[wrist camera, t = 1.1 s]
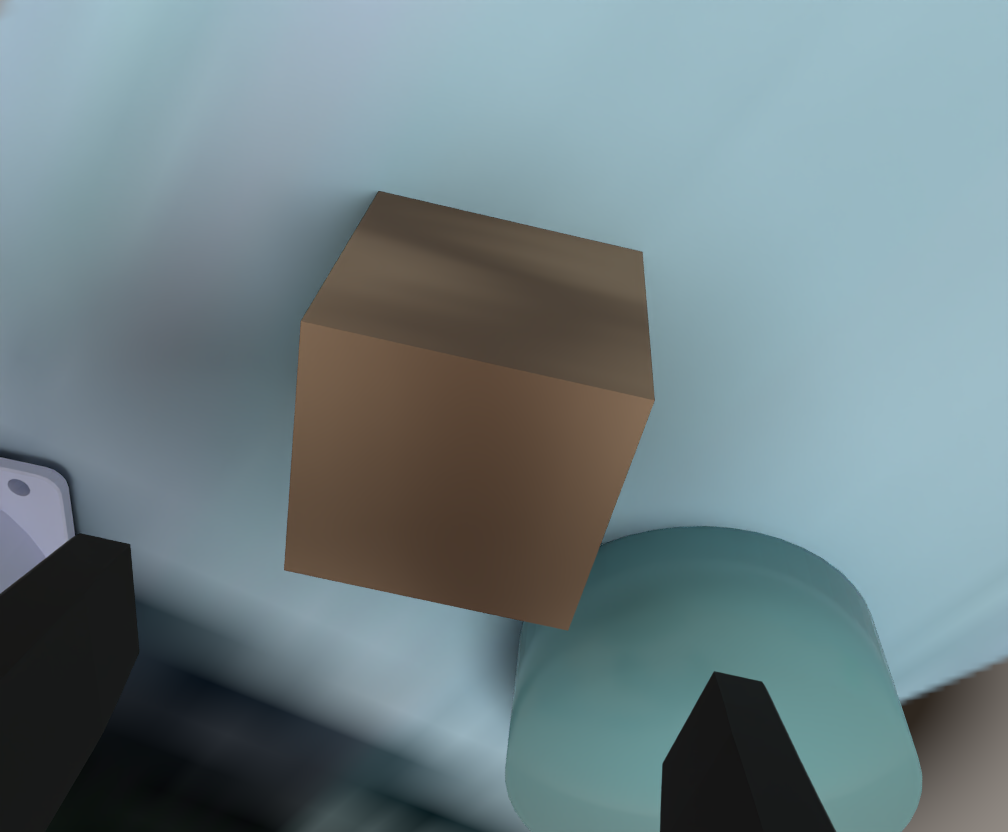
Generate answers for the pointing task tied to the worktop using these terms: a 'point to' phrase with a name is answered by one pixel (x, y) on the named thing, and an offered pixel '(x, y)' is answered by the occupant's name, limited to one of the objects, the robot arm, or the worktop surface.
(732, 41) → the worktop surface
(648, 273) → the worktop surface
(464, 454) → the walnut cube
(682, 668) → the teal puck
